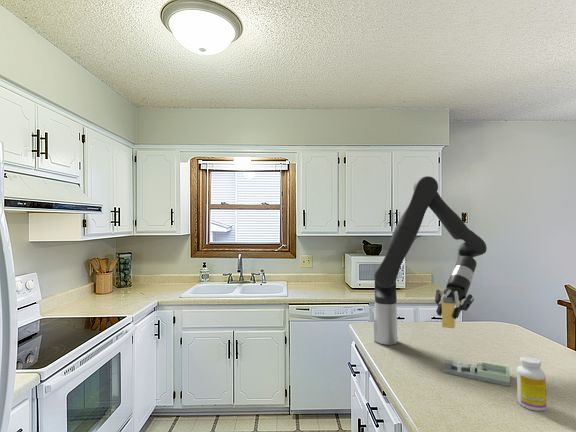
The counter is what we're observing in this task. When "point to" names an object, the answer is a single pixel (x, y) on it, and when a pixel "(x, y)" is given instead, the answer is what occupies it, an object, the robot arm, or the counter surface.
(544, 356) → the counter surface
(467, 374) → the board
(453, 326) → the block
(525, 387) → the supplement bottle
